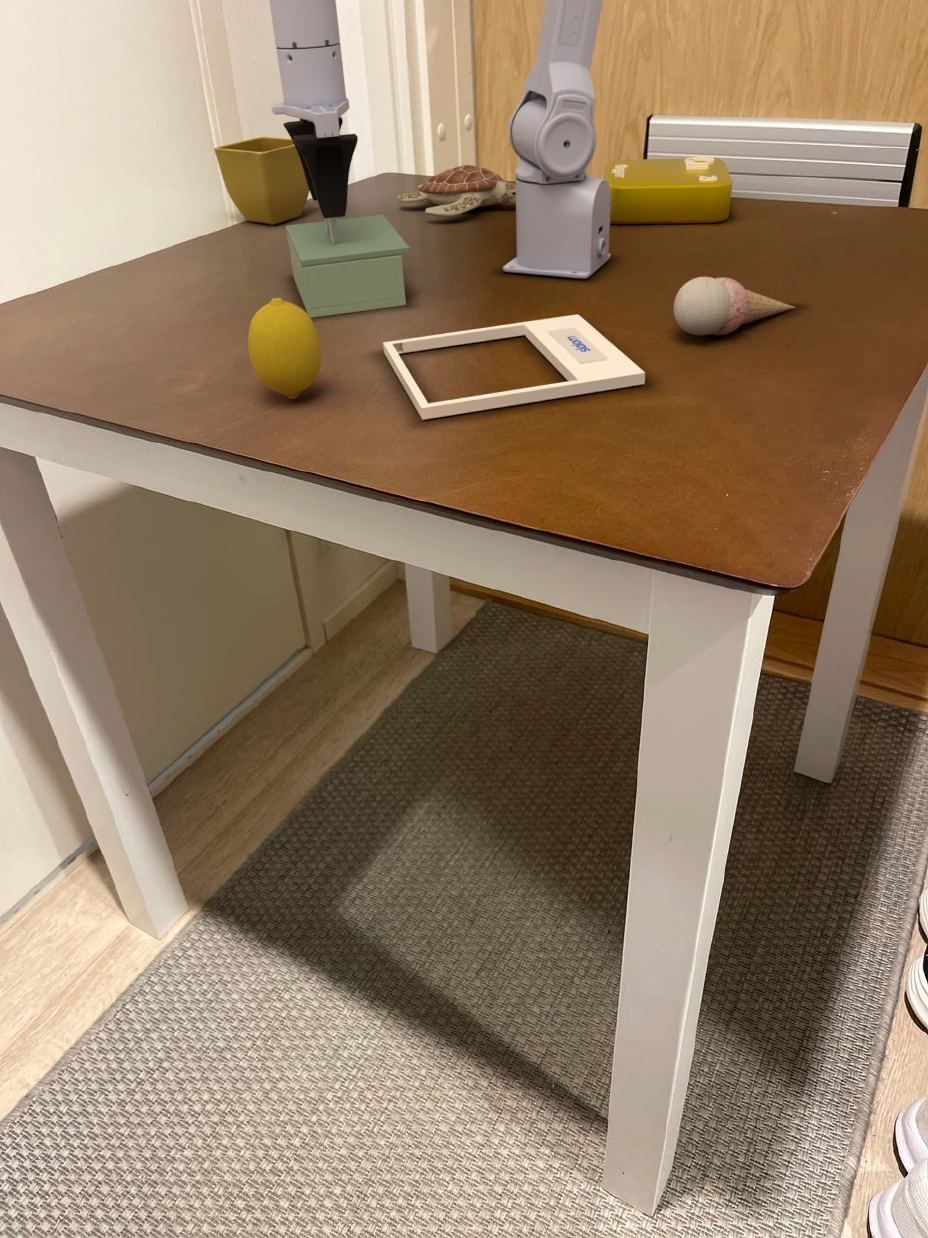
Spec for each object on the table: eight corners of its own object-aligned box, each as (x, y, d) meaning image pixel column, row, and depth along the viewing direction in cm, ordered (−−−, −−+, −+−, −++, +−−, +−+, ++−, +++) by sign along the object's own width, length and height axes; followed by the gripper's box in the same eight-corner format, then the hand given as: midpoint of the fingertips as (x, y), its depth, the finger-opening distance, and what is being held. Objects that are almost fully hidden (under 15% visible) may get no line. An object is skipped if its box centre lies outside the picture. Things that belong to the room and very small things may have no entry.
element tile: (603, 195, 124) (605, 155, 121) (720, 193, 122) (724, 152, 119) (601, 225, 112) (602, 182, 109) (730, 223, 110) (735, 179, 107)
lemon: (314, 414, 72) (298, 311, 68) (247, 411, 73) (227, 309, 69) (336, 385, 77) (323, 286, 72) (273, 383, 78) (255, 285, 73)
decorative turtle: (495, 229, 113) (494, 184, 110) (376, 220, 119) (372, 177, 116) (549, 194, 126) (550, 153, 123) (439, 187, 132) (437, 148, 129)
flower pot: (274, 208, 127) (262, 134, 122) (321, 215, 123) (311, 139, 117) (226, 223, 122) (211, 147, 116) (274, 231, 117) (261, 152, 112)
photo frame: (645, 370, 73) (421, 405, 70) (644, 383, 74) (422, 419, 70) (578, 312, 84) (382, 340, 81) (577, 324, 85) (384, 352, 82)
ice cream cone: (776, 339, 88) (664, 340, 80) (772, 287, 88) (659, 284, 80) (819, 328, 84) (707, 328, 76) (815, 273, 84) (701, 268, 76)
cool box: (380, 267, 103) (376, 221, 100) (406, 305, 92) (401, 254, 89) (293, 278, 101) (286, 231, 98) (309, 318, 90) (301, 267, 88)
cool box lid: (383, 219, 100) (379, 172, 97) (410, 253, 89) (405, 200, 87) (286, 231, 98) (279, 182, 95) (301, 266, 88) (293, 213, 85)
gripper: (256, 41, 88) (280, 195, 96) (270, 56, 77) (296, 229, 85) (330, 36, 90) (347, 188, 98) (355, 50, 78) (372, 221, 86)
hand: (328, 207), depth 92 cm, fingers open, 7 cm apart
